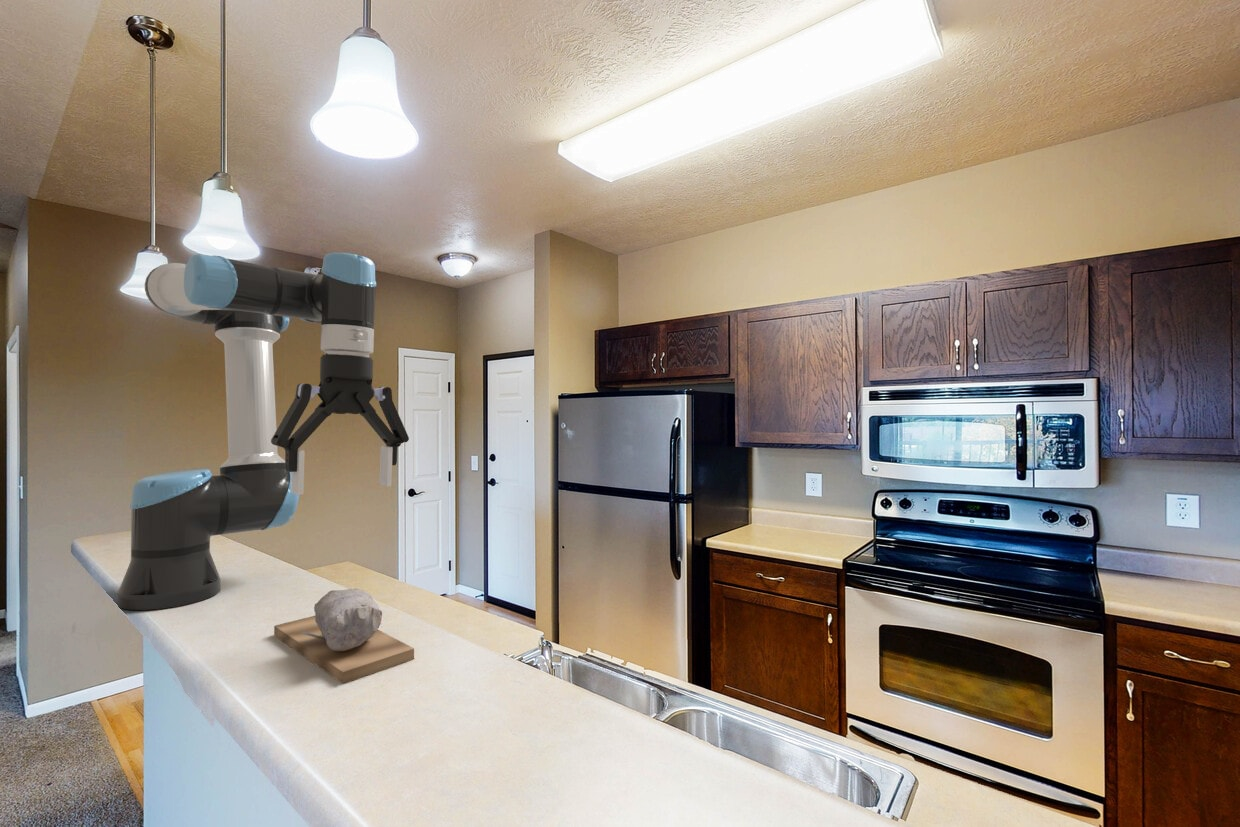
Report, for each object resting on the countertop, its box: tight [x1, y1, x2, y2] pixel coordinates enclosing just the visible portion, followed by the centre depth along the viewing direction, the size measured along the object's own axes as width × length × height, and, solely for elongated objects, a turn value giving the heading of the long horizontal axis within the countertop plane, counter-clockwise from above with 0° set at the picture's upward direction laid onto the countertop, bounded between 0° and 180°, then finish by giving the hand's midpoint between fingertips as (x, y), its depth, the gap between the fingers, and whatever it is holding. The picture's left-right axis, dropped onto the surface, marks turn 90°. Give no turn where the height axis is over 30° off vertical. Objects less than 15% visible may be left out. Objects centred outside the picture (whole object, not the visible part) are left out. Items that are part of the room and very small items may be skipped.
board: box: [273, 615, 415, 684], centre depth 86 cm, size 24×10×2 cm, turn 50°
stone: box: [313, 588, 383, 651], centre depth 84 cm, size 8×12×7 cm, turn 37°
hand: (343, 489), depth 90 cm, fingers open, 13 cm apart
